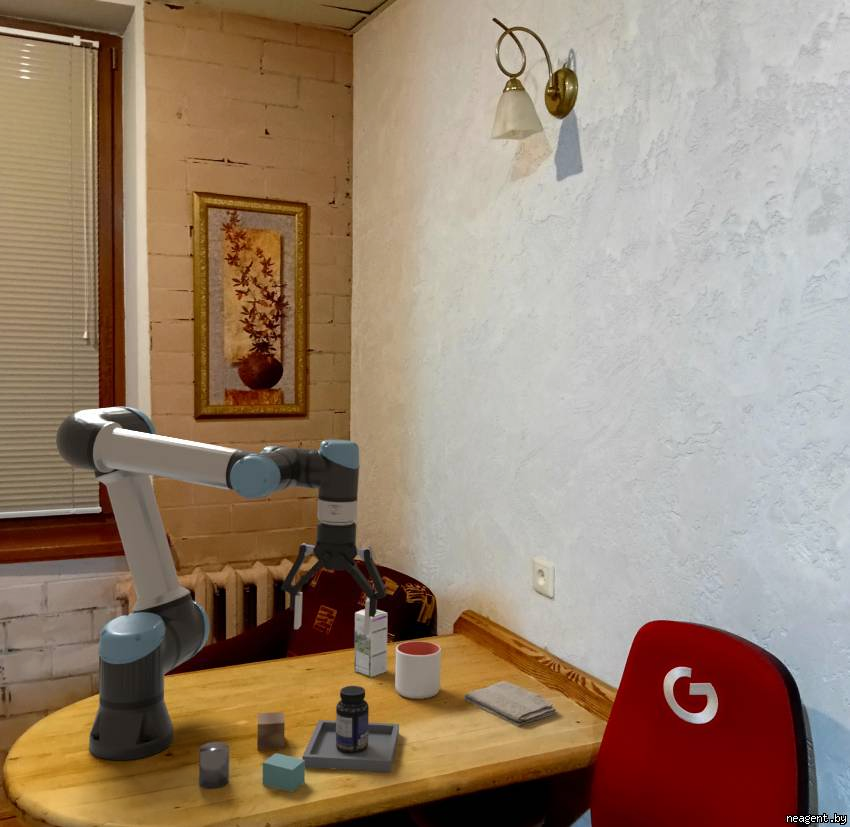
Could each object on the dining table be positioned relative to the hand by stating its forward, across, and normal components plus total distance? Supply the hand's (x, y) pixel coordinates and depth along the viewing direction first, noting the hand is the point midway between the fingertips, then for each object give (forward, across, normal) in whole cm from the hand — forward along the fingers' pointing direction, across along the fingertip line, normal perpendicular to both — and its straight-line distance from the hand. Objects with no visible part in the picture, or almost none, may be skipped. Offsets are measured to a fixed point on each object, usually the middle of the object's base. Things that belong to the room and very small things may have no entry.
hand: (332, 630), depth 166 cm
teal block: (+22, -4, -19) cm, 29 cm away
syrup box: (+22, +3, +36) cm, 42 cm away
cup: (+21, +15, +26) cm, 37 cm away
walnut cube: (+22, -10, -4) cm, 24 cm away
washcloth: (+21, +36, +20) cm, 46 cm away
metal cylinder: (+22, -16, -20) cm, 34 cm away
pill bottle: (+21, +6, -4) cm, 22 cm away
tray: (+21, +6, -4) cm, 22 cm away
